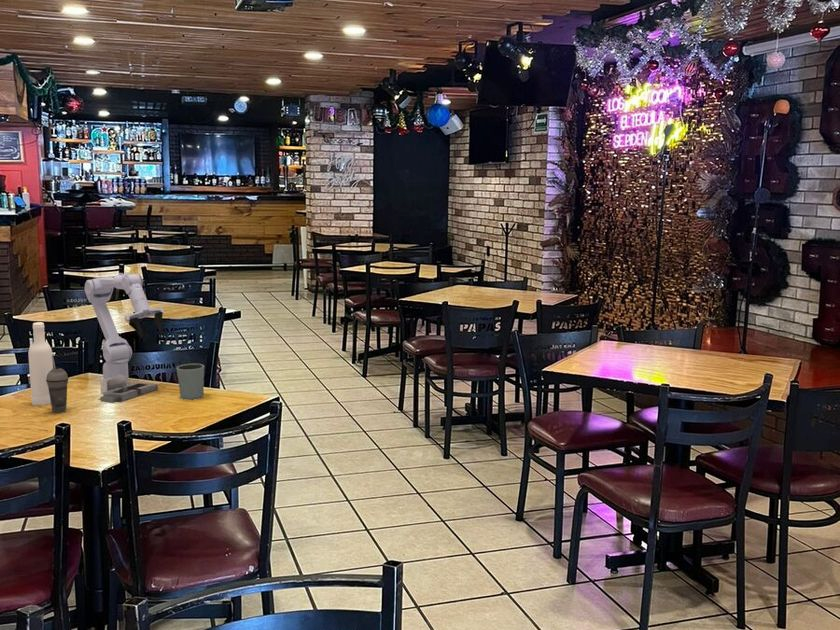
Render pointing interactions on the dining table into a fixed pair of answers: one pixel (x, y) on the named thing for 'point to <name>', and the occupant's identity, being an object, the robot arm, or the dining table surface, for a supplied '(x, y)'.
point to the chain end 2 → (140, 387)
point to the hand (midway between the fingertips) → (151, 334)
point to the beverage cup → (57, 388)
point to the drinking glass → (191, 381)
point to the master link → (112, 383)
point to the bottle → (39, 366)
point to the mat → (135, 397)
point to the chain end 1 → (118, 395)
